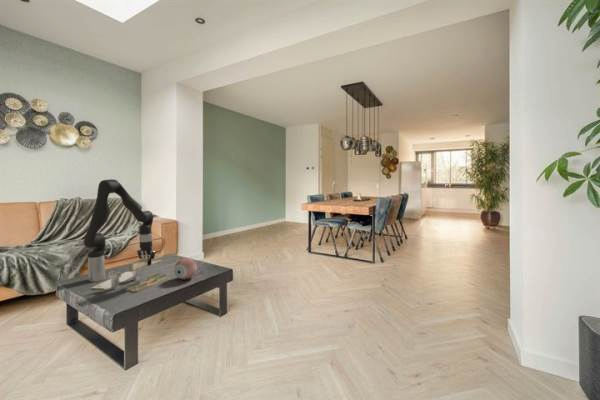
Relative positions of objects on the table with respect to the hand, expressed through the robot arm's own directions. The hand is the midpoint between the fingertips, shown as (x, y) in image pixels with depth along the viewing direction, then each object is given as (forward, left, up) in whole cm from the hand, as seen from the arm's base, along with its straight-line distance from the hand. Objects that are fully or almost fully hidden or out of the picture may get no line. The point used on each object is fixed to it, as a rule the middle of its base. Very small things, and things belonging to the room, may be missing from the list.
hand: (146, 264), depth 179 cm
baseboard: (-25, 0, -14) cm, 29 cm away
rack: (0, 0, -13) cm, 13 cm away
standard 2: (-14, +4, -13) cm, 20 cm away
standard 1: (-14, -12, -13) cm, 23 cm away
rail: (0, 0, 0) cm, 0 cm away
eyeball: (+19, +15, -14) cm, 28 cm away
